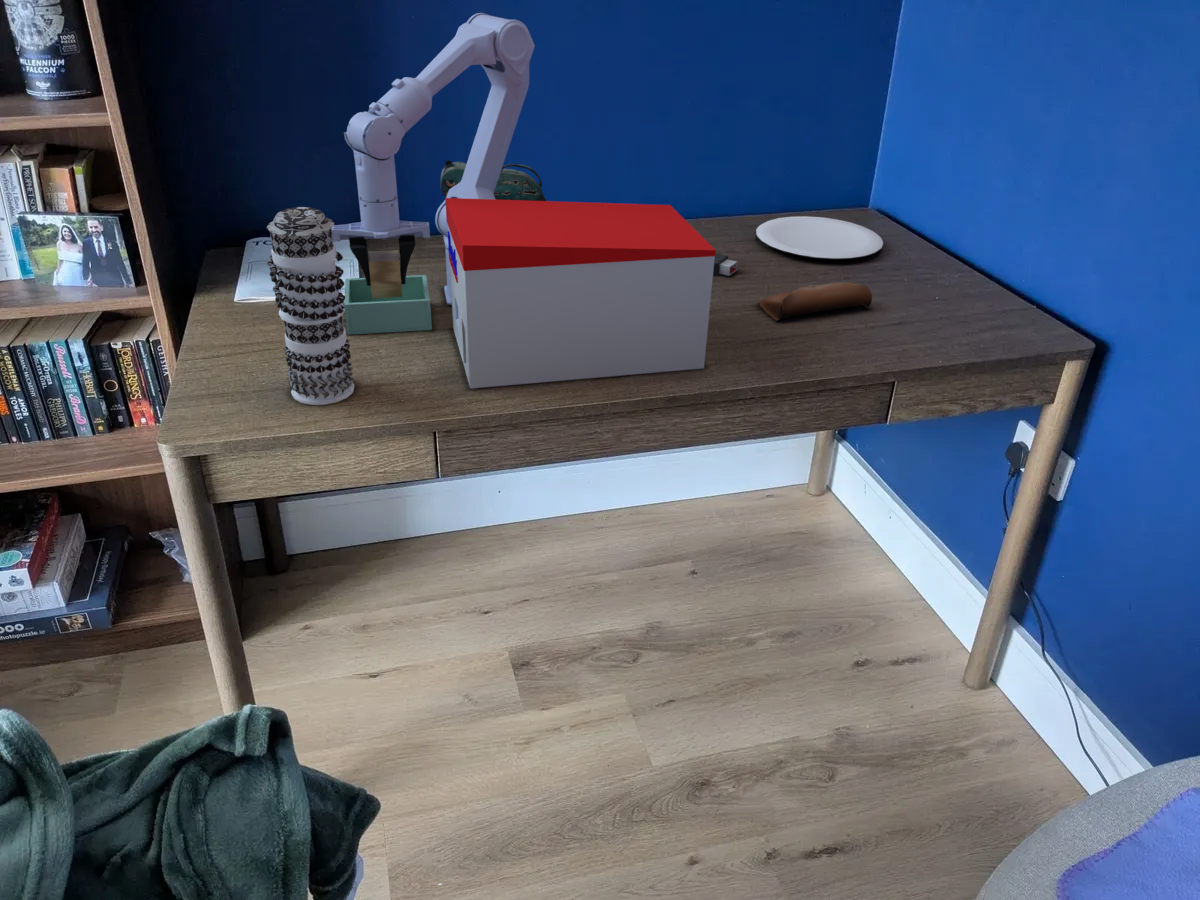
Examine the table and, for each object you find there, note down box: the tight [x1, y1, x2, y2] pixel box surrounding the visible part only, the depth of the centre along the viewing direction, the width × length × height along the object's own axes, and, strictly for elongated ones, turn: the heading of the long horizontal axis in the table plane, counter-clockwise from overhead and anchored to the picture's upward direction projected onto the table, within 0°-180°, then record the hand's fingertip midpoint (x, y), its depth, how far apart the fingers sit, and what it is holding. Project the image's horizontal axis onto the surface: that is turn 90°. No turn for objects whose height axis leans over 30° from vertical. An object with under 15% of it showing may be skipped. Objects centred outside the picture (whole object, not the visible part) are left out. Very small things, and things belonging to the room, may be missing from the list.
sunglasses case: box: [758, 282, 873, 321], centre depth 161 cm, size 18×7×7 cm, turn 113°
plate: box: [755, 215, 884, 261], centre depth 190 cm, size 25×25×2 cm
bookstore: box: [444, 197, 717, 389], centre depth 140 cm, size 21×35×21 cm, turn 104°
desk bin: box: [343, 274, 433, 336], centre depth 152 cm, size 13×11×5 cm
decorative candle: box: [266, 206, 355, 406], centre depth 125 cm, size 9×9×25 cm
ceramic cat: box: [439, 159, 547, 201], centre depth 176 cm, size 20×6×20 cm, turn 104°
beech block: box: [368, 249, 402, 298], centre depth 149 cm, size 5×5×6 cm
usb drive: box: [713, 252, 738, 277], centre depth 176 cm, size 5×12×3 cm, turn 58°
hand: (386, 282), depth 150 cm, fingers closed on beech block, 4 cm apart
